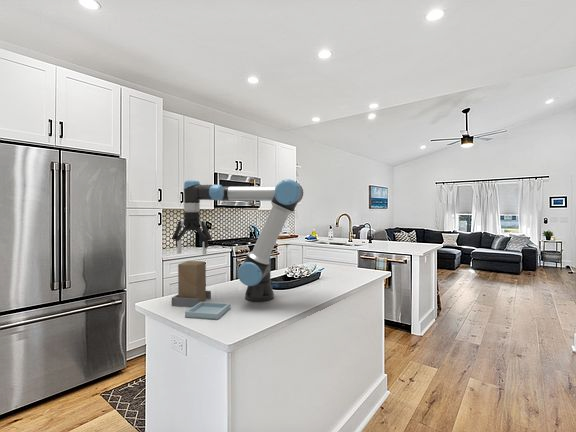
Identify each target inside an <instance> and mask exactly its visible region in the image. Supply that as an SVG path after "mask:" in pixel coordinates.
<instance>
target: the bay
mask: <svg viewBox="0 0 576 432" xmlns="http://www.w3.org/2000/svg"><path fill="white" fill-rule="evenodd" d="M211 299H212V291H211V290H206V300H211ZM196 304H198V299H196V298H179V297H178V294H175V295H174V296H172V297H171V307H182V308H183V307H185V308H192V307H193V306H195V305H196Z"/></svg>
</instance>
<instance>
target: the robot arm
mask: <svg viewBox="0 0 576 432" xmlns="http://www.w3.org/2000/svg"><path fill="white" fill-rule="evenodd" d="M200 183H201V182H200V181H199V180H193V179H192V180H185V181H184V183H183V200H184V201H183V211H184V213H183V219H184V220H183V221H182V220H179V221H178V222H177V227H176V228H175V231H174V233H173V235H172V237H171V239H172V240H174V241H175V247H176V248H177V252H176V254H177V255H179V254H180V255H181V254H182V240H181V239H182V238H183V237H184V235H185V234H186V233H187V232H188V231H196V233H197V234H199V237H201V239H202V240H203V241H202V255H203V256H205V255H207V249H208V248H209V241H211V240H213V239H212V235H211V233H210V232H209V229H208V227H207V225H206V224H207V223H206V221H205V220H204V221H200V218H201V217H200V216H201V213H200V206H201V204H200V203H201V201H203V200H204V201H205V200H206V201H220V202H225V201H227V202H228V201H234V202H235V201H237V202H238V201H246V202H247V201H249V202H250V201H251V202H252V201H253V202H255V201H256V202H257V201H259V202H260V201H261V202H268V201H269V202H271V205H272V206H271V209H270V211H269V214H268V216H267V218H266V220H265V222H264V225H263V226H262V229H261V230H260V232H259V235H258V237H257V240H256V242H255V245H254V246H253V249H252V250H251V251H250V252H247V253H246V257H245V258H244V260H243V262H242V263H241V264H240V266H238V267H239V268H238V270H237V276H238V280H239V281H240V282H241V284H243V285H245V286H247V287H246V289H245V293H244V298H245V299H244V300H247V301H249V302H257V303H258V302H268V301H270V300H273V299H274V297H275V296H274V295H275V292H274V289H273V286H272V284H271V262H272V261H271V259H272V258H271V254H272V252H273V249H274V247H275V245H276V243H277V241H278V238H279V236H280V234H281V232H282V230H283V228H284V226H285V223H286V221H287V219H288V217H289V215H290V214H291V213H294V211H295V209H296V208H297V205H298V203H300V202H301V201H302V199H303V197H304V189H303V186H302V185H301V184H300V183H298V182H297V181H295V180H293V179H291V178H290V179H282V180H280V181H279V182H278V183H277V184H276V185H275V186H274V185H273V186H272V185H267V186H266V185H261V186H259V185H257V186H256V185H255V186H254V185H253V186H250V185H247V186H244V185H243V186H242V185H241V186H239V185H237V186H233V185H232V186H227V185H226V186H224V185H222V184H200ZM183 226H184V227H183ZM200 226H201V227H200ZM182 228H183V229H182ZM201 228H202V229H201Z"/></svg>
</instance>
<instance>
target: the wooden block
mask: <svg viewBox="0 0 576 432" xmlns="http://www.w3.org/2000/svg"><path fill="white" fill-rule="evenodd" d="M206 269H207V263H206V261H205V260H204V261H203V260H202V261H200V260H187V261H183V262H182V263H179V264H178V265H177V272H178V274H177V278H178V280H177V281H178V282H177V284H178V285H177V289H178V290H177V291H178V293H177V295H178V297H179V298H196V299H198V303H199V302H206V300H207V299H206V291H207V285H206V284H207V281H206V279H207V277H206V273H207V270H206Z"/></svg>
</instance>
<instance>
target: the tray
mask: <svg viewBox="0 0 576 432" xmlns="http://www.w3.org/2000/svg"><path fill="white" fill-rule="evenodd" d="M231 305H232V304H231V303H228V302H213V301H211V302H210V301H203V302H199V303H198V304H196V305H195V306H193V307H189V309H187V310H186V311H185V312H184V318H186V319H187V318H188V319H201V320H211V321H212V320H215V321H218V320H219V319H221V317H223V316H224V315H225V314H226V313H227V312H228V311H230V310H231V307H232V306H231Z"/></svg>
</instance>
